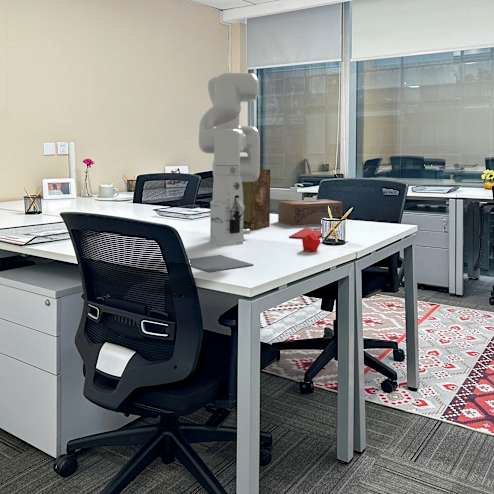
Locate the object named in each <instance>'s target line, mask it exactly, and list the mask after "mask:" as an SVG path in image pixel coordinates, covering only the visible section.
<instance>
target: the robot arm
mask: <svg viewBox="0 0 494 494" xmlns="http://www.w3.org/2000/svg"><path fill="white" fill-rule="evenodd" d="M207 91H208V95H209V98H210V102H211V104H212V105H213V106H211V107H210V108H209V109H207V110H206V112H205V113H204V114H203V115H202V117H201V119H200V121H199V129H198V146H199V149H200V151H201V152H202V153H204V154H212V155H213V162H212V164H211V166H212V167H211V168H212V176H213V185H212V200H210V202H214V201H215V202H222V203H227V204H228V209H229V211H230V216H231V219H232V220H230V233H231V234H233V233H239V232H240V219H241V216H242V214H243V211H244V209H245V206H244V205H243V188H242V182H254V181H256V180H258V178H259V173H260V169H261V168H260V165H261V164H260V163H261V160H260V159H261V158H260V156H261V155H260V153H261V144H260V143H261V140H260V139H261V138H260V132H259V129H257V128H256V127H255V126H252V125H240V113H241V110H242V109H241V108H242V107H241V106H242V105H241V102H243V103H252V102H253V103H254V102H255V101H257V98H258V97H259V92H260V83H259V79H258V77H257V75H255V73H250V72H225V73H221V74H220V75H217V76H214V77H212V78H210V79H209V80H208V82H207ZM241 153H245V154H247V155H241ZM234 203H235V204H236V205H237V206H238V207H237V209H233V206H234ZM235 211H236V213H235V214H234V213H233V212H235ZM250 234H251V230H250V229H243V242H244V241H245V236H244V235H250Z"/></svg>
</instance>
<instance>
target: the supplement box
mask: <svg viewBox="0 0 494 494" xmlns="http://www.w3.org/2000/svg"><path fill="white" fill-rule="evenodd" d="M209 203H210V217H209V218H210V220H209V221H210V229H209V230H210V231H209V232H210V237H209V238H210V244H213V245H218V246H220V247H221V246H222V247H233V246H240V245H243V244H244V241H243V237H244V235H243V230H244V229H243V214H242V216H241V219H240V232H239V233H233V234H231V233H230V220H232V219H231V216H230V211H229V209H228V204H227V203H222V202H215V201H214V202H211V201H210V202H209ZM243 205H244V203H243ZM237 207H238V206H237V205H236V204H235V203H234V206H233V209H237ZM233 213H234V214H235V213H236V211H235V212H233Z"/></svg>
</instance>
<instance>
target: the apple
mask: <svg viewBox="0 0 494 494" xmlns="http://www.w3.org/2000/svg"><path fill="white" fill-rule="evenodd" d="M301 242H302V243H301V244H302V248H303V251H305V252H314V253H315V252H317V250H318V248H319V246H320V244H321V242H322V241H321V240H320V239H318V238H317V237H316V236H315V235H314V234H313V233H311V234H309V235H307V236H305V237H303V238H302V239H301Z"/></svg>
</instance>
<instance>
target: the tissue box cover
mask: <svg viewBox="0 0 494 494" xmlns="http://www.w3.org/2000/svg"><path fill="white" fill-rule="evenodd" d="M277 203H278V205H277V206H278V207H277V208H278V209H277V210H278V211H277V213H278V214H277V215H278V216H277V218H278V220H277V222H278V223H280V224H285V225H288V226H290V227H299V226H300V227H301V226H303V227H304V226H318V225H319V226H320V225H322V224H321V218H322V217H328V206H329V208H330V210H331V214H332V216H333V217H335V218H338V217H342V218H343V201H337V200H332V199H327V198H323V199H302V200H301V199H300V200H299V199H298V200H279V201H278V202H277Z"/></svg>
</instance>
